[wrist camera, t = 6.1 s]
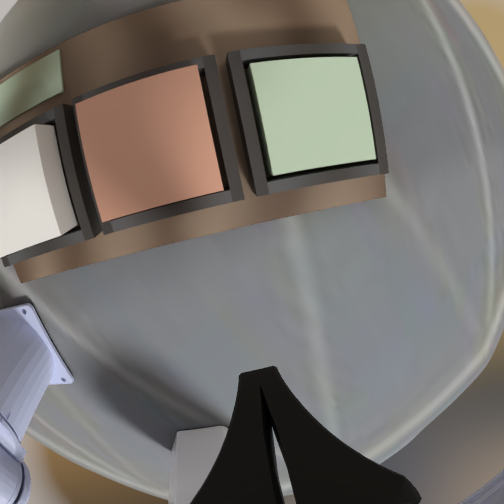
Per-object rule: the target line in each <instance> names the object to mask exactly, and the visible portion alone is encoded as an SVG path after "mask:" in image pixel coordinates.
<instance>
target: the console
mask: <svg viewBox="0 0 504 504" xmlns="http://www.w3.org/2000/svg"><path fill="white" fill-rule="evenodd" d="M315 57H357V59H358V63H359V68H360V72H361V76H362V81H363V85H364V90H365V95H366V100H367V105H368V110H369V116H370V122H371V128H372V134H373V141H374V148H375V155H376V159H372V160H365V161H357V162H350V163H344V164H337V165H331V166H324V167H318V168H312V169H306V170H301V171H295V172H290V173H284V174H279V175H274V176H273V175H271V174H268V173H266V171H265V166H264V161H263V155H262V150H261V145H260V140H259V135H258V130H257V126H256V121H255V116H254V111H253V106H252V101H251V97H250V92H249V87H248V83H247V78H246V71H247V69H248V67H249V65H250V63H257V62H265V61H274V60H284V59H297V58H315ZM192 65H197V66H198V71H199V76H200V81H201V86H202V91H203V95H204V100H205V105H206V110H207V115H208V119H209V124H210V129H211V134H212V138H213V143H214V148H215V152H216V157H217V162H218V166H219V171H220V175H221V180H222V185H223V189H224V190H223V191H218V192H214V193H210V194H206V195H201V196H197V197H193V198H189V199H185V200H181V201H177V202H173V203H169V204H165V205H162V206H158V207H154V208H151V209H147V210H143V211H140V212H136V213H133V214H129V215H126V216H122V217H119V218H115V219H112V220H109V221H105V222H102V220H101V217H100V213H99V210H98V206H97V203H96V199H95V196H94V192H93V188H92V184H91V180H90V176H89V172H88V168H87V164H86V159H85V155H84V150H83V145H82V140H81V135H80V130H79V124H78V119H77V113H76V106H75V104H77V103H79V102H81V101H84V100H86V99H88V98H91V97H93V96H96V95H98V94H101V93H103V92H106V91H109V90H111V89H114V88H117V87H120V86H122V85H125V84H128V83H131V82H134V81H137V80H141V79H144V78H147V77H150V76H154V75H157V74H161V73H164V72H168V71H172V70H176V69H180V68H184V67H188V66H192ZM34 124H40V125H53V126H54V129H55V135H56V140H57V146H58V151H59V155H60V160H61V165H62V169H63V173H64V178H65V182H66V186H67V189H68V193H69V197H70V201H71V204H72V208H73V211H74V215H75V218H76V221H77V224H78V225H76V226H75V227H73V228H72V229H70V230H69V231H67V232H66V233H64V234H63V235H61V236H58V237H55V238H53V239H50V240H47V241H44V242H41V243H38V244H35V245H33V246H30V247H27V248H24V249H22V250H19V251H16V252H14V253H11V254H9V255H6V256H3V257H1V259H2V261H3V264H4V267H7V266H9V265H12V264H14V267H15V270H16V272H17V275H18V277H19V280H20V282H21V283H24V282H27V281H31V280H34V279H38V278H41V277H45V276H49V275H52V274H56V273H59V272H63V271H67V270H70V269H74V268H78V267H81V266H85V265H89V264H93V263H96V262H100V261H104V260H108V259H112V258H116V257H119V256H123V255H127V254H131V253H135V252H139V251H143V250H147V249H151V248H155V247H159V246H163V245H167V244H171V243H175V242H179V241H184V240H188V239H192V238H196V237H200V236H205V235H209V234H213V233H217V232H222V231H226V230H230V229H235V228H239V227H244V226H248V225H253V224H257V223H262V222H266V221H271V220H275V219H280V218H284V217H289V216H294V215H298V214H303V213H308V212H313V211H317V210H322V209H327V208H332V207H337V206H342V205H347V204H352V203H357V202H362V201H367V200H372V199H377V198H383V197H386V188H385V177H384V174H386V173H389V171H388V162H387V154H386V146H385V139H384V132H383V126H382V119H381V114H380V108H379V103H378V97H377V92H376V88H375V83H374V78H373V74H372V70H371V66H370V61H369V58H368V54H367V50H366V46H365V44H360V42H359V38H358V35H357V31H356V28H355V24H354V21H353V18H352V15H351V12H350V9H349V6H348V3H347V0H181V1H176V2H172V3H168V4H164V5H160V6H157V7H153V8H149V9H146V10H143V11H139V12H136V13H133V14H130V15H127V16H124V17H121V18H119V19H116V20H113V21H110V22H108V23H105V24H103V25H100V26H98V27H95V28H93V29H90V30H88V31H86V32H84V33H81V34H79V35H77V36H75V37H73V38H71V39H69V40H66V41H64V42H62V43H60V44H59V45H57V46H55V47H53V48H51V49H49V50H47V51H45V52H44V53H42V54H40V55H38V56H37V57H35V58H33V59H31V60H30V61H28V62H26V63H25V64H23V65H22V66H20V67H19V68H17V69H15V70H14V71H12V72H11V73H9V74H8V75H6V76H5V77H4V78H2V79H1V80H0V144H2V143H3V142H5V141H6V140H8V139H10V138H11V137H13V136H15V135H16V134H18V133H20V132H21V131H23V130H25V129H27V128H28V127H30V126H32V125H34Z"/></svg>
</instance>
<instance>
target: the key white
mask: <svg viewBox="0 0 504 504" xmlns="http://www.w3.org/2000/svg"><path fill="white" fill-rule="evenodd" d="M76 225H78V224H77V221H76V218H75V215H74V211H73V208H72V204H71V201H70V197H69V193H68V189H67V186H66V182H65V178H64V173H63V169H62V165H61V160H60V155H59V151H58V146H57V140H56V135H55V129H54V126H53V125H40V124H34V125H32V126H30V127H28V128H27V129H25V130H23V131H21V132H20V133H18V134H16V135H15V136H13V137H11V138H10V139H8V140H6V141H5V142H3V143H2V144H0V258H1V257H3V256H6V255H9V254H11V253H14V252H16V251H19V250H22V249H24V248H27V247H30V246H33V245H35V244H38V243H41V242H44V241H47V240H50V239H53V238H55V237H58V236H61V235H63V234H64V233H66V232H67V231H69V230H70V229H72V228H73V227H75V226H76Z"/></svg>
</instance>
